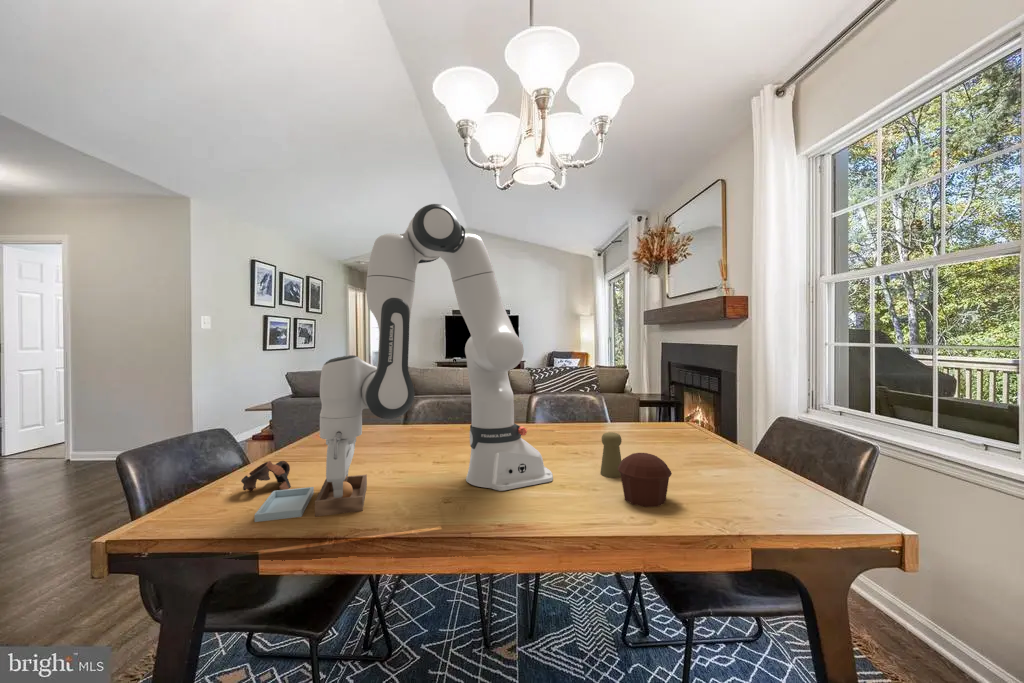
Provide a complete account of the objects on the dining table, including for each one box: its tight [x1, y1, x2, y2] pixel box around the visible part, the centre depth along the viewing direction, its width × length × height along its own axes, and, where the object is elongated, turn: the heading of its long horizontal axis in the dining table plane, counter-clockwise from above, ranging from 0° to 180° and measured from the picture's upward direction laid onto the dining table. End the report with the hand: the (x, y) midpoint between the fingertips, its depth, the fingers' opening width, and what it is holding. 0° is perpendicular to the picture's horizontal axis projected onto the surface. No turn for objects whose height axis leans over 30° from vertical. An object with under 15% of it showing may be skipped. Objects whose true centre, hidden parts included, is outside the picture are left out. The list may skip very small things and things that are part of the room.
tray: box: [253, 486, 315, 523], centre depth 91 cm, size 8×14×2 cm, turn 16°
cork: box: [600, 431, 623, 479], centre depth 112 cm, size 6×6×11 cm
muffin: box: [618, 452, 672, 508], centre depth 94 cm, size 12×11×10 cm
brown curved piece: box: [240, 460, 292, 492], centre depth 103 cm, size 12×10×8 cm
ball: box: [341, 482, 353, 498], centre depth 95 cm, size 4×4×4 cm
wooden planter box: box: [314, 474, 368, 517], centre depth 95 cm, size 9×16×4 cm, turn 16°
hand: (341, 489), depth 95 cm, fingers open, 8 cm apart
